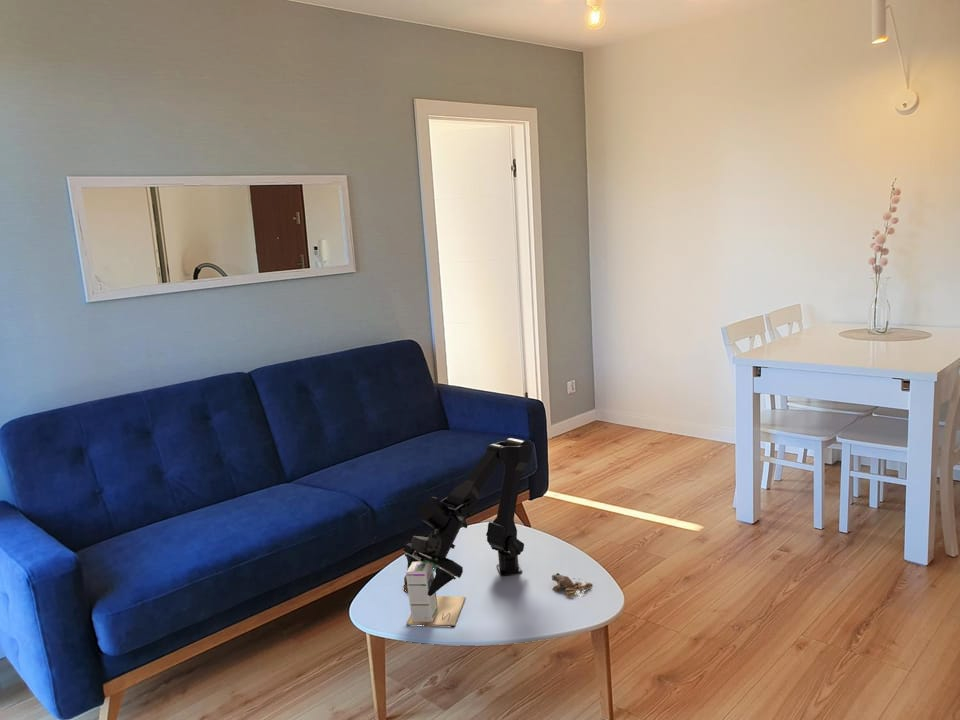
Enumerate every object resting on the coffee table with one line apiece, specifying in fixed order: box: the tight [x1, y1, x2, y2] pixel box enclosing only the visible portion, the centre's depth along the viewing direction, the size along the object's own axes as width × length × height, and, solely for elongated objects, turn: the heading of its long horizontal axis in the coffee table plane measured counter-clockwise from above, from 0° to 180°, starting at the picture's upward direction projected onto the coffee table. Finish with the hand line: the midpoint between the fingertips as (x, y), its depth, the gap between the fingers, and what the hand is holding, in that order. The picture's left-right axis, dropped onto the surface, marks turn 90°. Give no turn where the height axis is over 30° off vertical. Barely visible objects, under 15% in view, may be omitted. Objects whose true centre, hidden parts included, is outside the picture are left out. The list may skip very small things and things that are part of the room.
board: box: [405, 595, 466, 628], centre depth 200 cm, size 13×14×1 cm
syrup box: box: [405, 561, 438, 622], centre depth 195 cm, size 6×6×14 cm
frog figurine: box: [551, 572, 594, 599], centre depth 205 cm, size 12×12×4 cm
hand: (417, 590), depth 194 cm, fingers open, 9 cm apart
